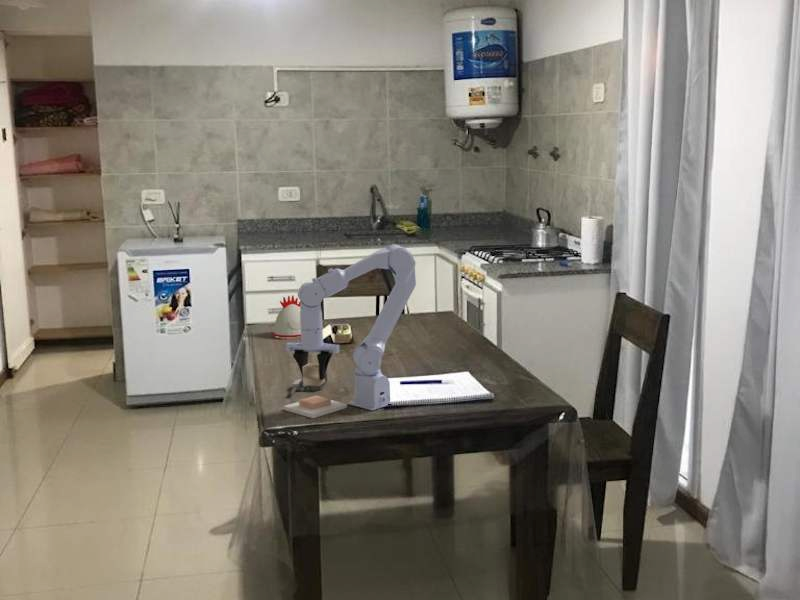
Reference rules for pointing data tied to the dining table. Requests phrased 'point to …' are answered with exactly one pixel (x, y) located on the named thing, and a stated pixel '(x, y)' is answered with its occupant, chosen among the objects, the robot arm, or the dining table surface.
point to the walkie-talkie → (299, 386)
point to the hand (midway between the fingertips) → (313, 378)
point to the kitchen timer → (288, 319)
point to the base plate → (315, 412)
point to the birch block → (312, 375)
